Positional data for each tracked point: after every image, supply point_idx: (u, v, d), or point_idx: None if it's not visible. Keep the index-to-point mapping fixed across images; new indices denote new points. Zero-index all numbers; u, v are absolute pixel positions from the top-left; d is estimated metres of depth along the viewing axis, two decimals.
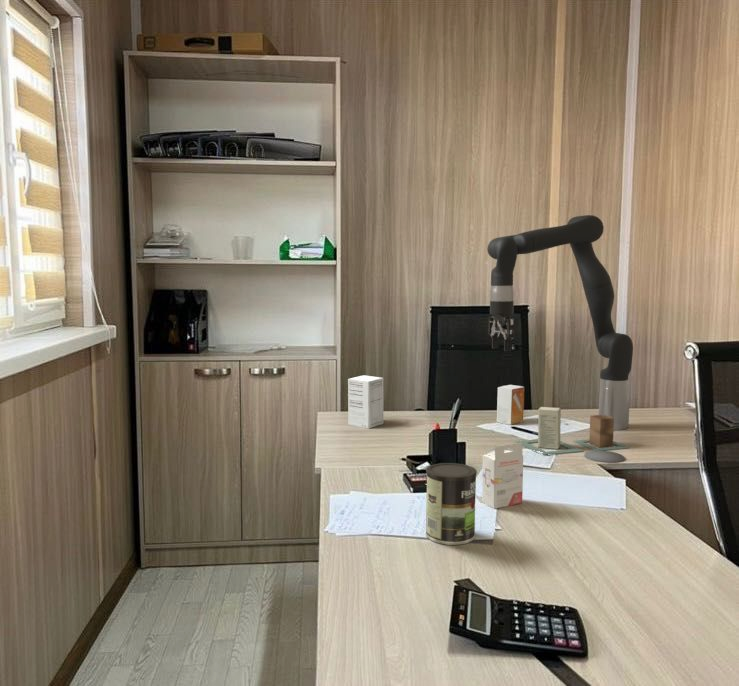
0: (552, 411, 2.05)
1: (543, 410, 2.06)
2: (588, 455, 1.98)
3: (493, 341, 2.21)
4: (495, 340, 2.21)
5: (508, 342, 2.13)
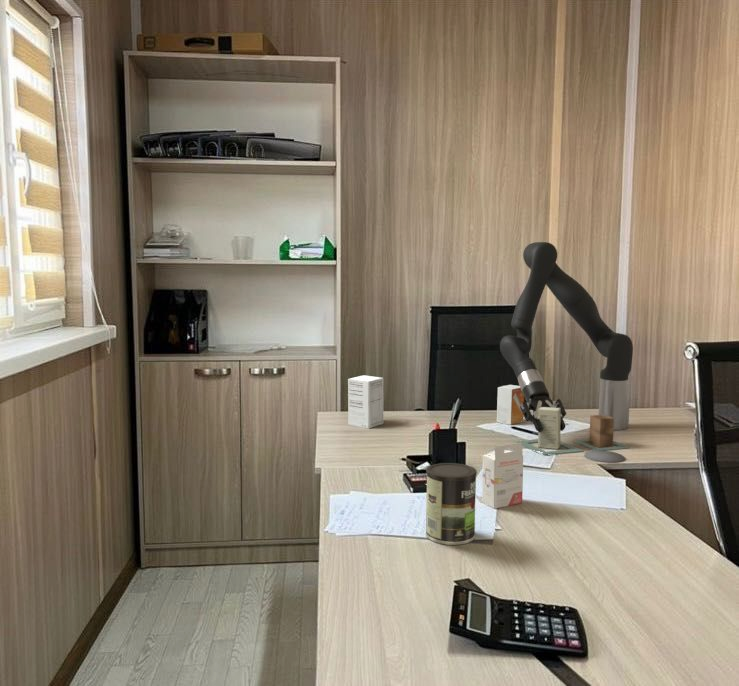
0: (552, 411, 2.05)
1: (543, 410, 2.06)
2: (588, 455, 1.98)
3: None
4: None
5: (534, 424, 2.07)
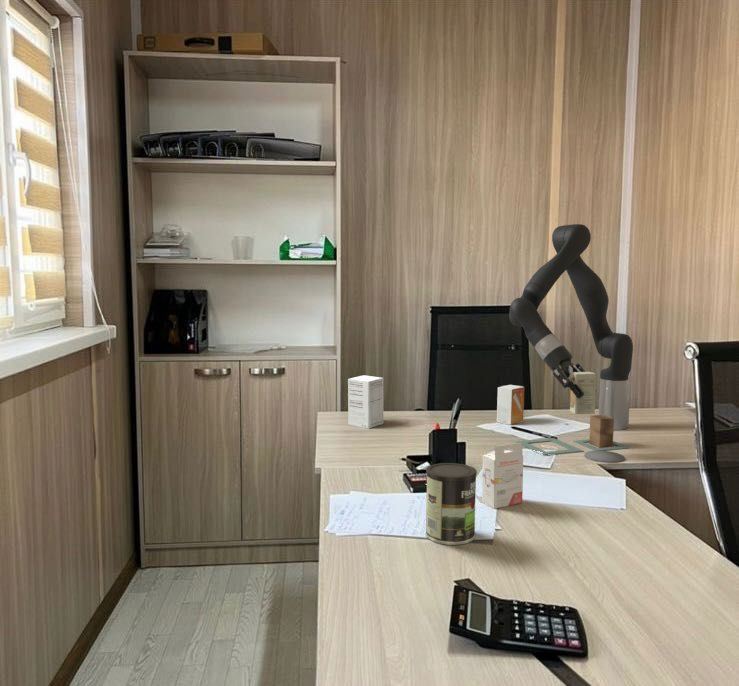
0: (590, 375, 1.96)
1: (580, 374, 1.96)
2: (588, 455, 1.98)
3: None
4: None
5: (573, 390, 1.96)
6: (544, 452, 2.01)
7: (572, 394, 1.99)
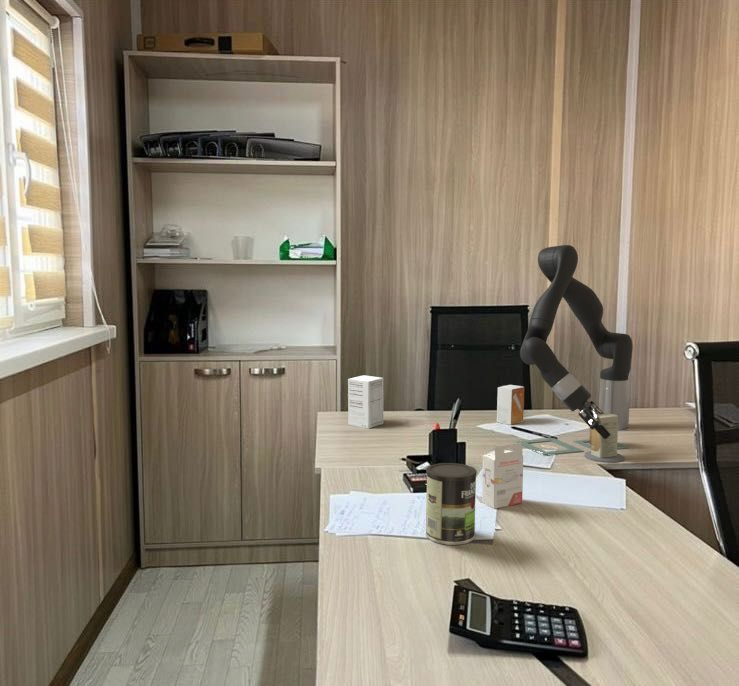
0: (613, 417, 1.95)
1: (605, 418, 1.94)
2: (588, 455, 1.98)
3: None
4: None
5: (599, 430, 1.92)
6: (544, 452, 2.01)
7: (595, 437, 1.96)
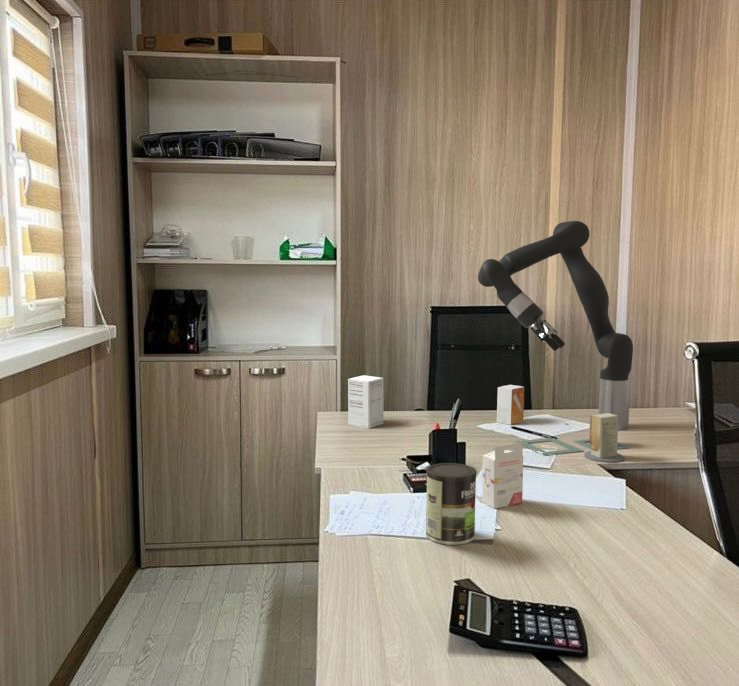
0: (613, 417, 1.95)
1: (605, 418, 1.94)
2: (588, 455, 1.98)
3: (555, 342, 2.14)
4: (556, 340, 2.14)
5: (549, 343, 2.06)
6: (544, 452, 2.01)
7: (595, 437, 1.96)
